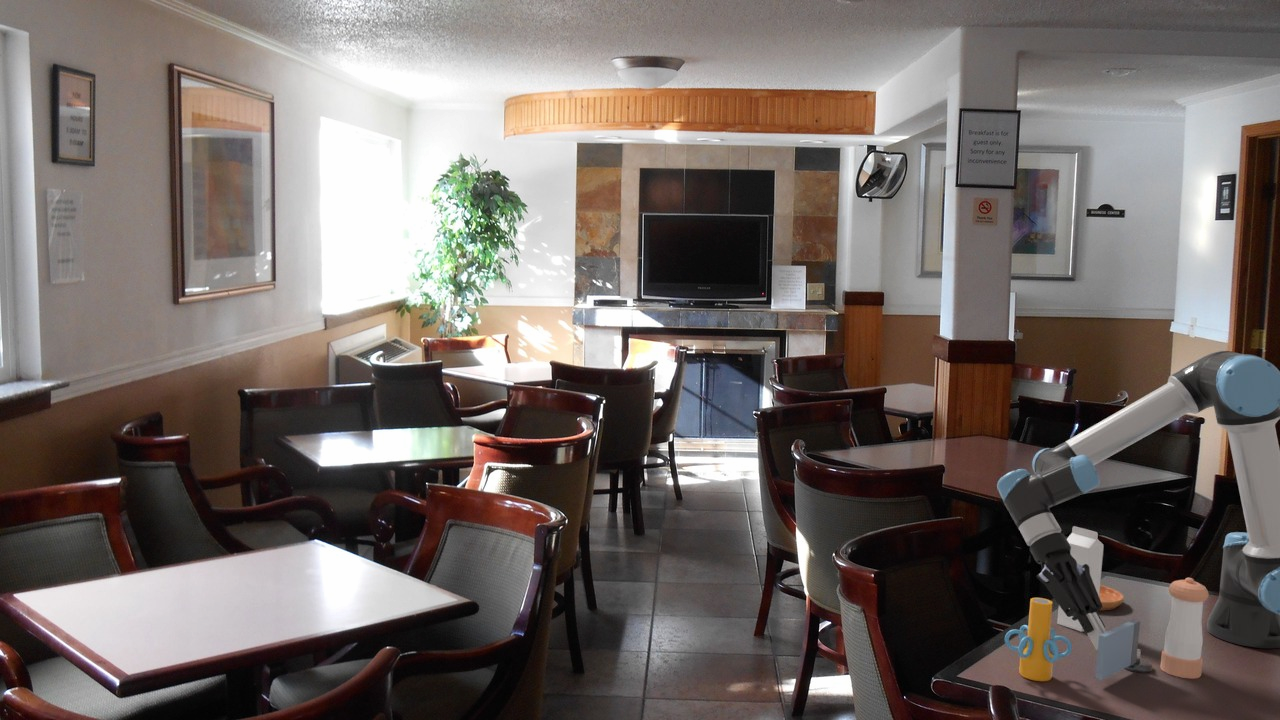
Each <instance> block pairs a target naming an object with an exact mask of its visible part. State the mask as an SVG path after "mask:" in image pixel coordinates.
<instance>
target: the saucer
mask: <svg viewBox="0 0 1280 720" xmlns="http://www.w3.org/2000/svg"><path fill="white" fill-rule="evenodd" d="M1099 598H1100V601H1101V603H1102V606H1103V607H1102V608H1101V609H1100V610H1099V611H1110V610H1114V609H1116V608H1117V607H1119V606H1120V605H1122V604H1123V602H1124V599H1125V596H1124V594H1122V592H1120V591H1118V590H1117V589H1114V588H1112V587H1109V586H1106V585H1103V584H1100V591H1099Z"/></svg>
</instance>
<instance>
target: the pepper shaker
mask: <svg viewBox="0 0 1280 720" xmlns="http://www.w3.org/2000/svg"><path fill="white" fill-rule="evenodd" d="M1168 592H1169V595H1170V596H1171V597H1172V598H1171V607H1170V614H1169V615H1170V617H1169V620H1168V623H1167V627H1166V630H1165V633H1164V647H1163V649H1162V651H1161V657H1160V670H1162V671H1163V672H1164V673H1166V674H1168V675H1171V676H1174V677H1177V678H1180V679H1181V678H1182V679H1190V680H1191V679H1192V680H1194V679H1199V678H1200V677H1201V676H1202V669H1203V662H1204V660H1203V656H1202V650H1203V642H1204V637H1203V627H1202V624H1203V623H1202V619H1203V607H1204V602H1206V600H1207V599H1208V598H1209V595H1210V594H1209V591H1208V589H1207V588H1206V586H1205V585H1203V584H1202V583H1200V582H1197V581H1196V580H1195V579H1194V578H1192V577H1186V578H1185V579H1178V580H1177V579H1176V580H1174V581H1172V582H1171V583H1170V585H1169V586H1168Z"/></svg>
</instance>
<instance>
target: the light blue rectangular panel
mask: <svg viewBox="0 0 1280 720" xmlns="http://www.w3.org/2000/svg"><path fill="white" fill-rule="evenodd" d="M1140 626H1141V621H1140V620H1137V619H1131V620H1129V621H1127V622H1125V623H1123V624H1120V625H1118V626H1116V627H1114V628H1111V629H1109V630H1106V631H1107V632H1105V633H1102V634H1100V635H1099V642H1098V650H1097V655H1096V667H1095V677H1094V678H1095V679H1097V680H1100V681H1103V680H1105V679H1106V678H1109V677H1110V676H1112V675H1115V674H1116V673H1118V672H1121V671H1122V670H1125V669H1124V668H1126V667H1128V666H1130V665H1132V664H1134V663H1136V659H1137V649H1139V648H1138V647H1139V637H1140Z"/></svg>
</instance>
